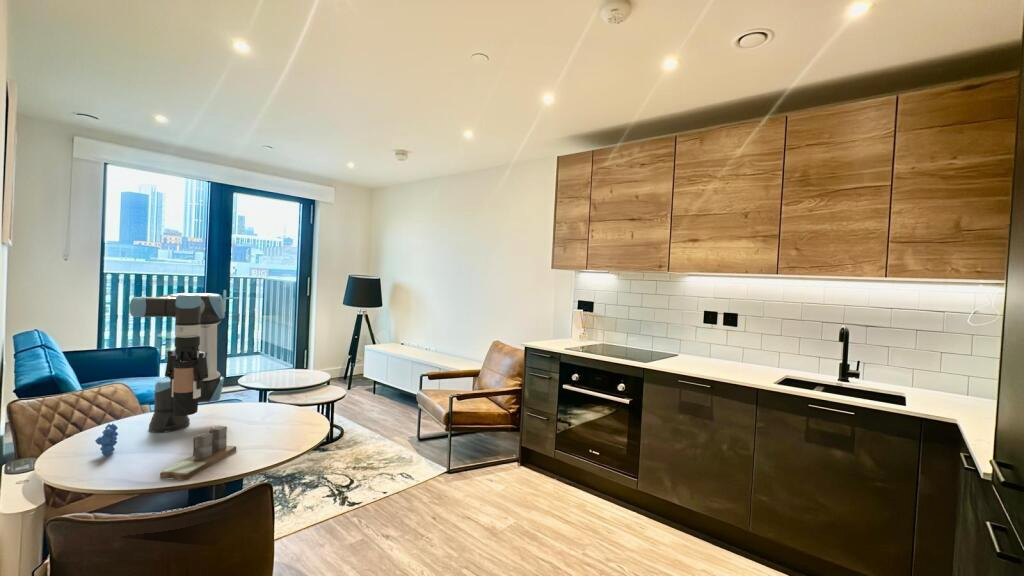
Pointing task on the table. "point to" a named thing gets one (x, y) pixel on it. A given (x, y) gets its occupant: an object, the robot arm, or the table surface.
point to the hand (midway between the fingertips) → (186, 396)
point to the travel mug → (184, 389)
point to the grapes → (108, 439)
